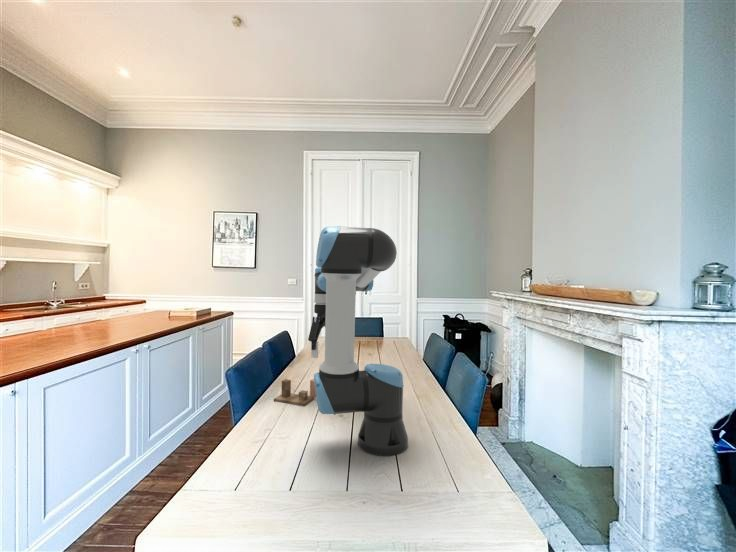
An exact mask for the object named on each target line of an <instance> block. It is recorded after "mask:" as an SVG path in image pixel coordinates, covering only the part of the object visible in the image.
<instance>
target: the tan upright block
mask: <svg viewBox="0 0 736 552" xmlns="http://www.w3.org/2000/svg"><path fill="white" fill-rule="evenodd" d="M309 396H312V397H315V398H316V393H315V385H314V378H312V379H310V380H309Z"/></svg>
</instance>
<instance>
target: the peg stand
mask: <svg viewBox="0 0 736 552" xmlns="http://www.w3.org/2000/svg"><path fill="white" fill-rule="evenodd" d="M291 381H292V380H291V379H287V378H285V379H283V380H281V394H280V395H277V396H276V397H274V398H273V402H277V403H284V404H288V405H294V406H298V407H299V406H302V407H306V406H308V405H309V404H310V403H311V402H313V401H315V399H316V397H312V396H310V395H309V393H308V390H303V389H302V390H299V391H298V393H293V392H291V387H292V384H291V383H292V382H291Z"/></svg>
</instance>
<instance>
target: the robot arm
mask: <svg viewBox="0 0 736 552" xmlns="http://www.w3.org/2000/svg"><path fill="white" fill-rule="evenodd" d="M396 246H397V245H396V244H395V242H394V240H393V239H392V238H391V236H389V234H388V233H386V232H385V231H382V230H381V229H377V228H374V227H369V228H368V227H353V226H352V227H350V226H342V225H341V226H340V225H339V226H338V225H337V226H326V227H325V226H324V227H323V228H322V230H321V232H320V233H319V239H318V243H317V248H316V249H317V250H316V256H315V257H316V260H315V265H316V267H315V268H314V298H313V299H314V301H313V302H314V306H313V307H314V309H313V313H315V314H316V316H312V319H311V320H312V322H311V326H310V330H309V334H308V337H307V338H308V339H307V340H308V341H309V342H311V343H310V344H311V346H310V347H311V348H310V349H311V350H310V351H311V353H310V354H311V355H310V356H311V358H315V359H318V358H319V341H318V340H319V337H320V334H321V331H322V329H323V328H324V333H325V334H324V361H323V362H322V363H321V364H320V365H319V366H318V369H319V370H318V372H317V371H316V372H315V373H313V379H314V385H315V393H316V397H315V399H316V403H317V409H318V412H319V413H320V414H322V415H334V416H335V415H340V414H341V415H342V414H352V413H360V412H361V413H362V412H363V419H362V422H361V425H360V428H359V431H358V435H357V445H358V447H359V448H360V449H361V450H362V451H364V452H366V453H368V454H371V455H375V456H383V457H384V456H385V457H387V456H388V457H389V456H394V455H399V454H401V453H403V452H404V451H406V450H407V448H408V446H409V437H408V432H407V429H406V425H405V423H404V419H403V407H404V406H403V404H404V403H403V402H404V401H403V399H404V398H403V397H404V377H403V373H402V371H401V370H400V369H398V368H397V367H394V366H392V365H388V364H382V363H368V364H365V366H364V368H363V370H360V366H359V365H358V364H357V362H355V337H356V336H355V335H356V334H355V333H356V331H355V330H356V328H355V327H356V294H357V292H362V293H363V292H370V291H372V290H373V287H374V279H375V278H376V277H377V276H378V275H379V274H380V273H381V272H385V271H387V270H388V269H390V268H392V266H393V265H394V263H395V261H396V259H397V247H396Z"/></svg>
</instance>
